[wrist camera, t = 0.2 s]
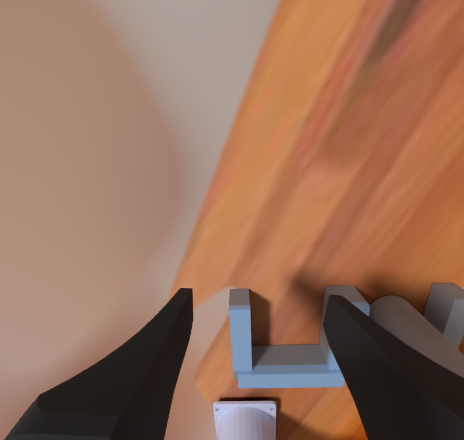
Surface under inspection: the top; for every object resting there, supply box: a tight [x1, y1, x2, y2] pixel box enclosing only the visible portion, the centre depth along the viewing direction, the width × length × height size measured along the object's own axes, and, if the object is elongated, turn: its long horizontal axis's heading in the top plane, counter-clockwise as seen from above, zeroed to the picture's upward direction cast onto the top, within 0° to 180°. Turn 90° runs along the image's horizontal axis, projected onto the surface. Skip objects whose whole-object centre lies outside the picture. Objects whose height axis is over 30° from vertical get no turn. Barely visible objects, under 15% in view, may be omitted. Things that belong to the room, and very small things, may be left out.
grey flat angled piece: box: [229, 283, 464, 379], centre depth 24 cm, size 10×23×2 cm, turn 93°
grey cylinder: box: [369, 295, 464, 378], centre depth 20 cm, size 4×4×10 cm
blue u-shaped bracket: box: [229, 302, 370, 388], centre depth 23 cm, size 10×13×1 cm
